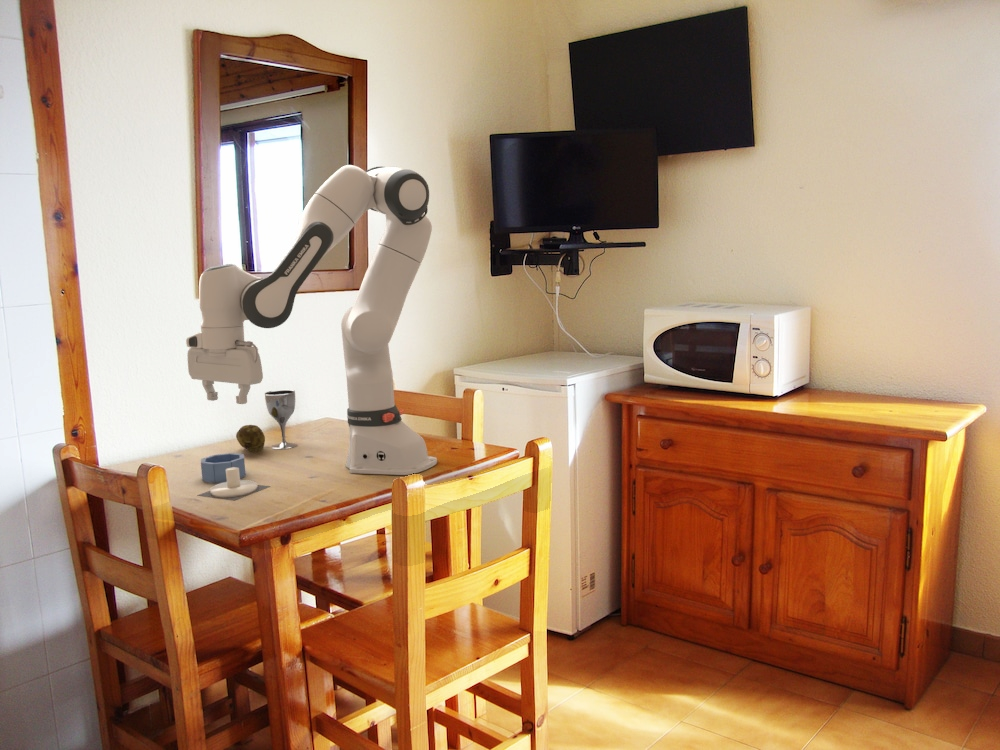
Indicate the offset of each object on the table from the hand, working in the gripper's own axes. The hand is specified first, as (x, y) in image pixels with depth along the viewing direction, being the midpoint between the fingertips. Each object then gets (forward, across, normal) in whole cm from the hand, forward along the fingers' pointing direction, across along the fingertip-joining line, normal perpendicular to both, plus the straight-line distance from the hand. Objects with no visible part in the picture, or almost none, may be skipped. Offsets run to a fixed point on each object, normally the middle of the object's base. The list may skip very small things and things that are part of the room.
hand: (227, 401), depth 184 cm
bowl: (+20, +9, -6) cm, 23 cm away
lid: (+20, -2, +1) cm, 20 cm away
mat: (+20, -2, +1) cm, 20 cm away
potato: (+20, +24, -28) cm, 42 cm away
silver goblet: (+20, +21, -36) cm, 46 cm away
